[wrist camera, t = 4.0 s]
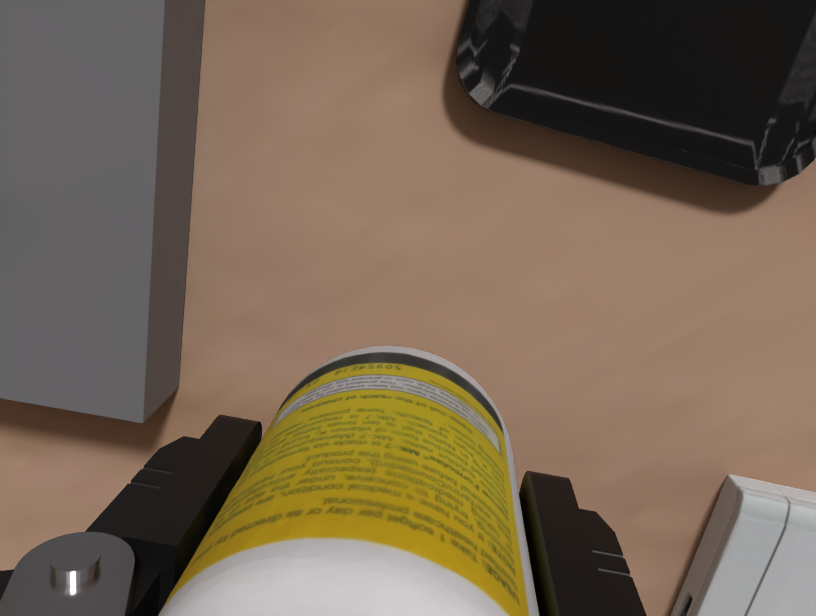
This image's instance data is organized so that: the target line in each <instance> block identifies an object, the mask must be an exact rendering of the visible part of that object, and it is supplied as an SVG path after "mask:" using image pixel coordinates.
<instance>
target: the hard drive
mask: <svg viewBox="0 0 816 616" xmlns="http://www.w3.org/2000/svg"><path fill="white" fill-rule="evenodd" d="M671 616H816V492H811V491H806V490H801V489H797V488H792V487H787V486H782V485H777V484H772V483H769V482H764V481H760V480H755V479H750V478H745V477H741V476H736V475H730V474H728V475H727V477H726V480H725V482H724V485H723V487H722V490H721V492H720V495H719V497H718V500H717V502H716V505H715V507H714V510H713V512H712V515H711V517H710V520H709V522H708V525H707V527H706V530H705V532H704V535H703V537H702V539H701V542H700V544H699V547H698V549H697V552H696V554H695V557H694V559H693V562H692V564H691V567H690V569H689V572H688V574H687V577H686V579H685V582H684V584H683V586H682V589H681V591H680V594H679V596H678V598H677V601H676V603H675V606H674V608H673V611H672V613H671Z"/></svg>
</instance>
